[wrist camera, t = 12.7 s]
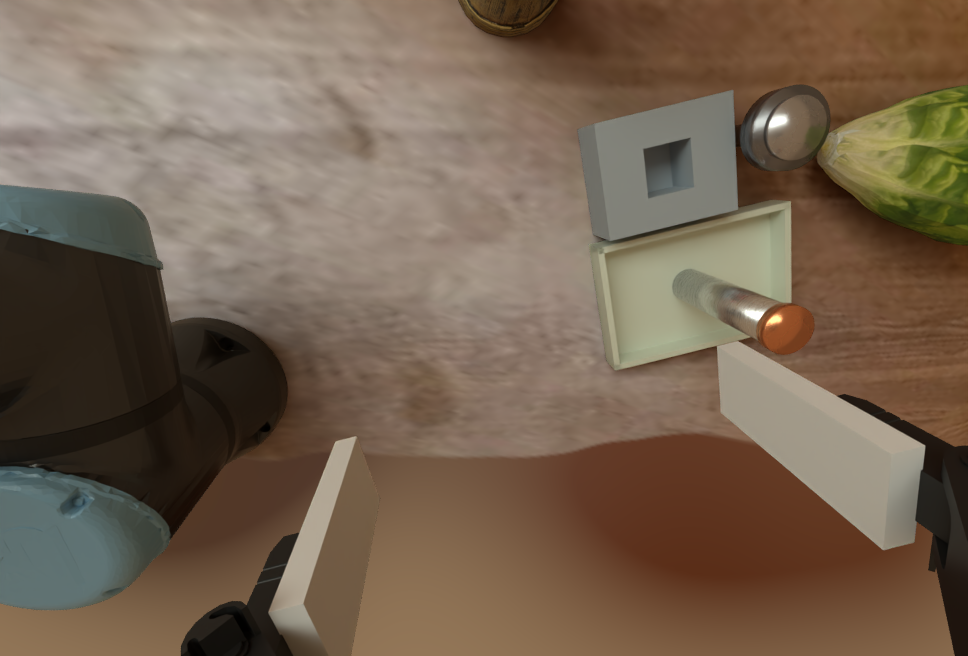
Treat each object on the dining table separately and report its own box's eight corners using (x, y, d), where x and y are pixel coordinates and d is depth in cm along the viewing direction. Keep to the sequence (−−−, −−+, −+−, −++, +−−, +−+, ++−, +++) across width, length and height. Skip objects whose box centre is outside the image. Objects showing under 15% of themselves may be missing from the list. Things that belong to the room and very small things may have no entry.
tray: (606, 360, 51) (615, 370, 48) (588, 244, 46) (597, 248, 44) (773, 319, 51) (791, 327, 48) (771, 199, 46) (791, 201, 44)
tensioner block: (593, 234, 46) (610, 241, 41) (577, 129, 43) (594, 123, 38) (707, 206, 46) (738, 209, 41) (701, 99, 43) (733, 89, 38)
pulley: (704, 178, 45) (759, 178, 37) (699, 108, 43) (757, 94, 35) (766, 163, 45) (835, 160, 37) (765, 92, 43) (837, 74, 35)
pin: (671, 305, 49) (765, 359, 34) (668, 271, 47) (764, 313, 33) (706, 297, 49) (813, 347, 34) (704, 262, 47) (814, 300, 33)
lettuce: (801, 91, 48) (902, 29, 35) (1043, 118, 46) (1247, 63, 33) (768, 229, 50) (851, 218, 37) (997, 259, 48) (1170, 260, 35)
